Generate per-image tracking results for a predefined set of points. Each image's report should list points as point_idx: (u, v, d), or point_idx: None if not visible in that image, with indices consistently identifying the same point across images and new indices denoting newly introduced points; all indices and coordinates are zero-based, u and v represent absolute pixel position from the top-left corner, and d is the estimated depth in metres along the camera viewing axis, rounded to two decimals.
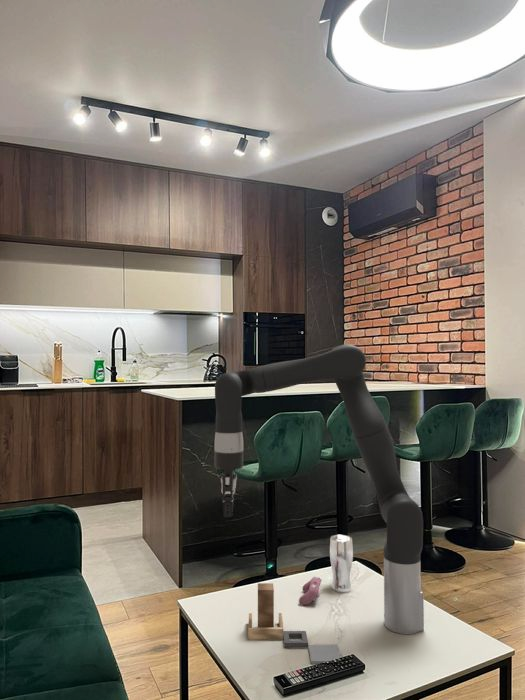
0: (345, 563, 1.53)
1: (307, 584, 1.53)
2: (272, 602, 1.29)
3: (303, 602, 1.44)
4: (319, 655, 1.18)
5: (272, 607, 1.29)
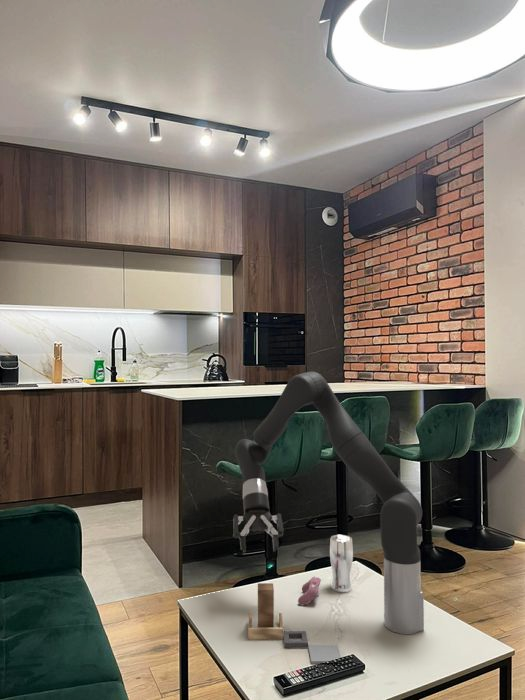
0: (345, 563, 1.53)
1: (306, 584, 1.53)
2: (272, 602, 1.29)
3: (302, 602, 1.44)
4: (319, 655, 1.18)
5: (272, 607, 1.29)
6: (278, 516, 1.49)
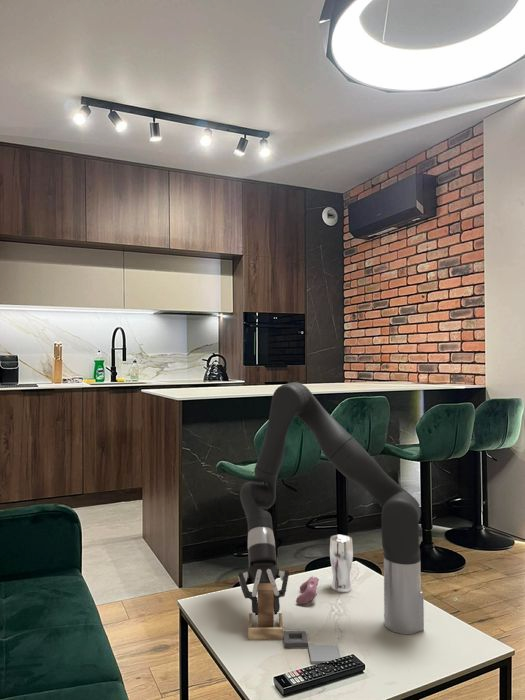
0: (345, 563, 1.53)
1: (304, 584, 1.53)
2: (272, 602, 1.29)
3: (300, 602, 1.45)
4: (319, 655, 1.18)
5: (272, 607, 1.29)
6: (285, 574, 1.35)
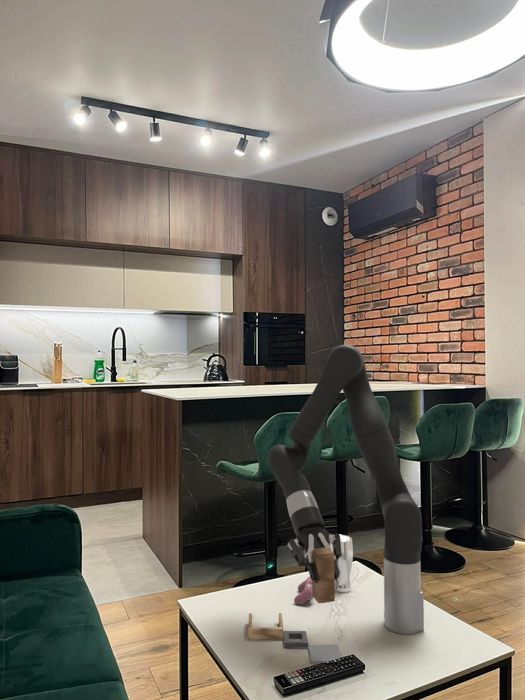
0: (345, 563, 1.53)
1: (302, 584, 1.53)
2: (332, 566, 1.19)
3: (298, 601, 1.45)
4: (319, 655, 1.18)
5: (333, 572, 1.19)
6: (337, 536, 1.26)
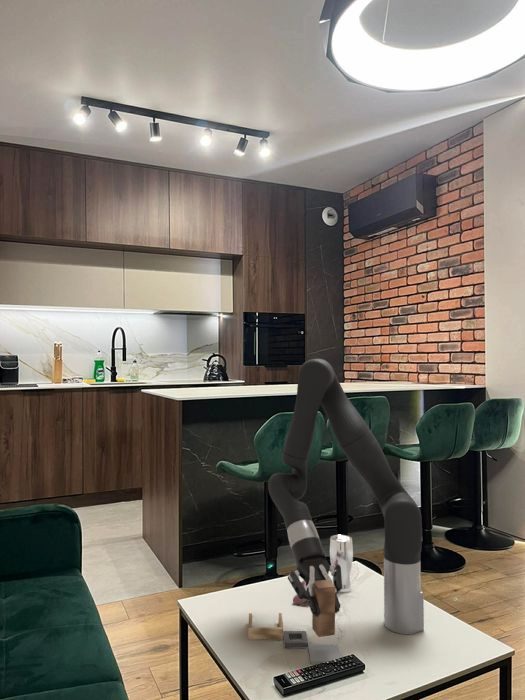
0: (345, 563, 1.53)
1: None
2: (333, 600, 1.18)
3: (297, 601, 1.45)
4: (319, 655, 1.18)
5: (333, 605, 1.18)
6: (337, 568, 1.25)
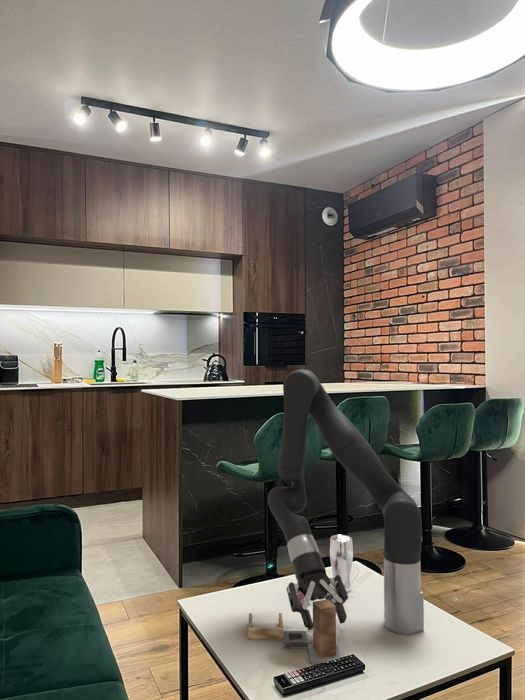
0: (345, 563, 1.53)
1: None
2: (334, 620, 1.18)
3: None
4: None
5: (334, 625, 1.18)
6: (338, 578, 1.26)
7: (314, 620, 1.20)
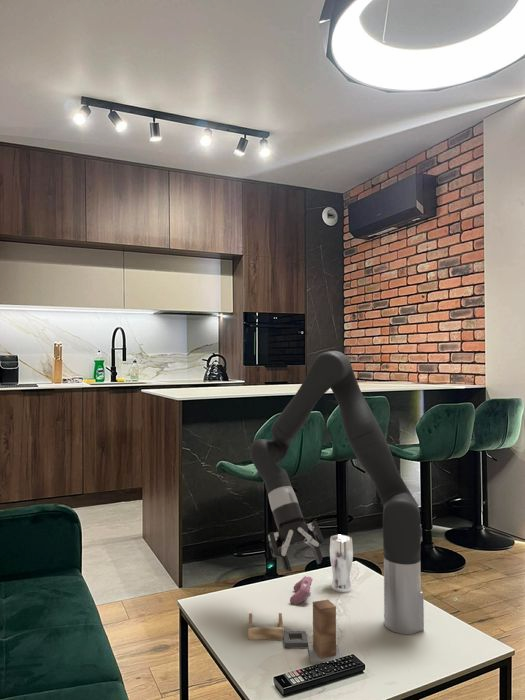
0: (345, 563, 1.53)
1: (298, 583, 1.53)
2: (334, 620, 1.18)
3: (294, 601, 1.45)
4: None
5: (334, 625, 1.18)
6: (314, 524, 1.38)
7: (314, 620, 1.20)
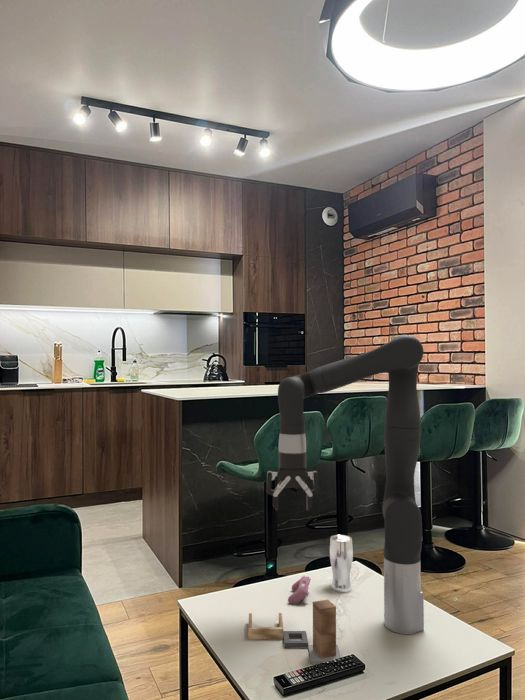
0: (345, 563, 1.53)
1: (296, 583, 1.53)
2: (334, 620, 1.18)
3: (292, 601, 1.45)
4: None
5: (334, 625, 1.18)
6: (315, 476, 1.39)
7: (314, 620, 1.20)
